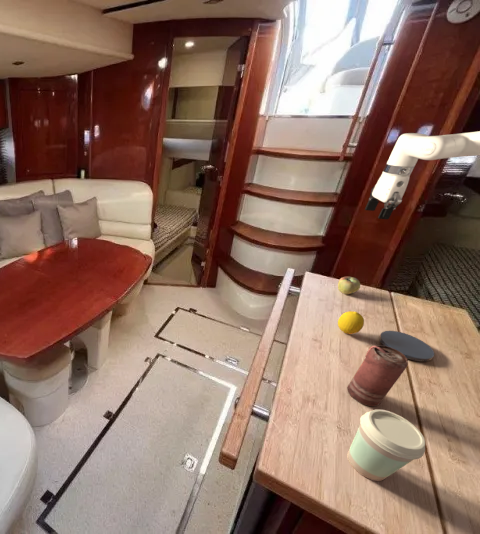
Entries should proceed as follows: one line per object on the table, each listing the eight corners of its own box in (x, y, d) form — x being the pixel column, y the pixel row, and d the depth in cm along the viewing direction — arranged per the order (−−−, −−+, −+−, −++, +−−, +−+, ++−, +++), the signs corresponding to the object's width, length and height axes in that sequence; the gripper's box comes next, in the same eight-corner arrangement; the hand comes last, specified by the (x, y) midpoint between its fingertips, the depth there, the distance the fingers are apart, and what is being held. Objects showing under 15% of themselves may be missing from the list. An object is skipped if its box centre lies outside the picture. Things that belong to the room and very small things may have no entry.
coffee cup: (394, 462, 60) (428, 425, 54) (394, 500, 54) (432, 464, 48) (340, 434, 65) (366, 398, 59) (335, 466, 59) (363, 430, 53)
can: (348, 380, 77) (374, 339, 70) (381, 397, 72) (412, 355, 65) (341, 394, 73) (367, 352, 66) (375, 412, 69) (407, 369, 62)
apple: (359, 291, 110) (366, 277, 107) (352, 299, 106) (359, 285, 103) (339, 284, 114) (345, 270, 111) (331, 292, 110) (338, 278, 107)
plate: (415, 337, 89) (417, 334, 88) (442, 366, 80) (445, 362, 79) (370, 331, 92) (372, 327, 91) (391, 358, 82) (394, 354, 82)
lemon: (332, 324, 95) (343, 304, 91) (355, 330, 92) (367, 309, 88) (334, 335, 91) (345, 314, 87) (358, 342, 88) (370, 320, 84)
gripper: (426, 176, 103) (401, 223, 112) (396, 165, 118) (375, 207, 126) (399, 175, 105) (376, 221, 114) (372, 164, 119) (354, 206, 128)
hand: (376, 214), depth 120 cm, fingers open, 9 cm apart
